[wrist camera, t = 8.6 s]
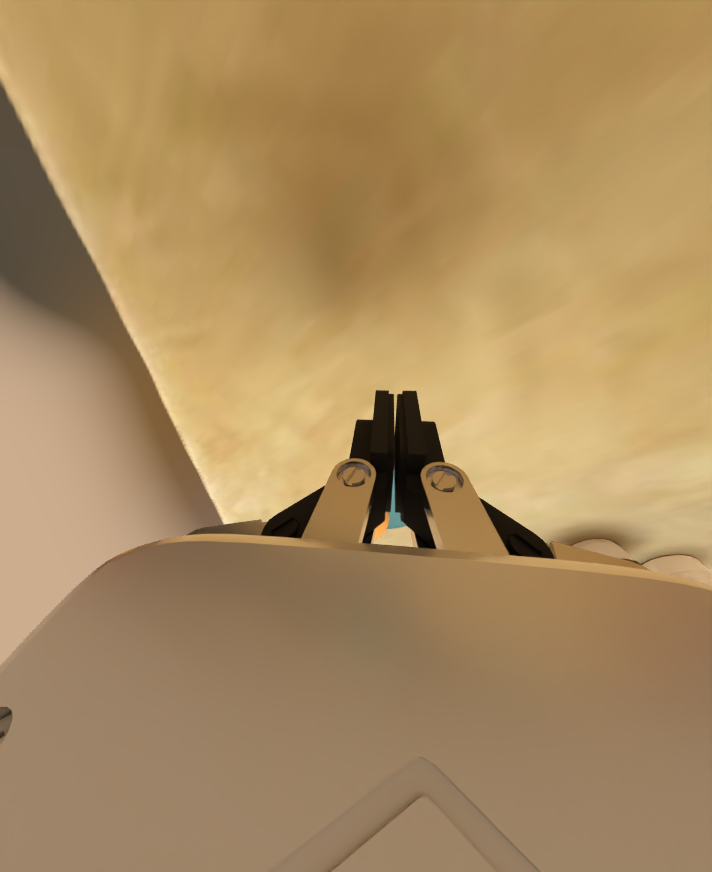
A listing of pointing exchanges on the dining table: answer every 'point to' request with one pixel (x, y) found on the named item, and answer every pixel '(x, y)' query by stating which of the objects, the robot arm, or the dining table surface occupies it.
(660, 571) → the white cup
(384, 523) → the ball
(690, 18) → the dining table surface
